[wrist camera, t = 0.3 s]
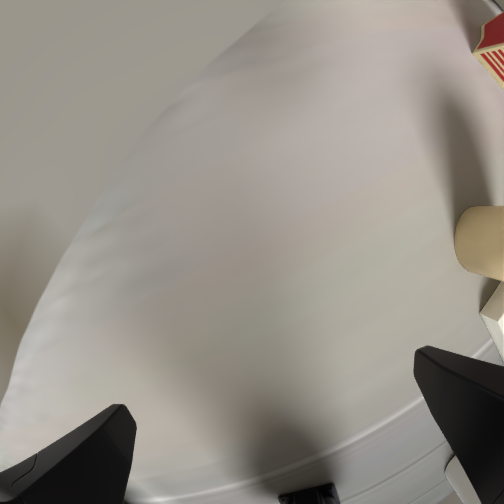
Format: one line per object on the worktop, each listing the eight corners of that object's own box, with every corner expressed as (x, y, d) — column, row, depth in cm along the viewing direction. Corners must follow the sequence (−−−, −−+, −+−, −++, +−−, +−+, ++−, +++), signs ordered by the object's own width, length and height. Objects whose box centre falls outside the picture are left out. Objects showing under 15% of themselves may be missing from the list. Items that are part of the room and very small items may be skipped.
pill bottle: (496, 430, 23) (548, 485, 8) (468, 470, 24) (509, 527, 9) (463, 438, 23) (518, 507, 8) (433, 479, 24) (473, 548, 9)
